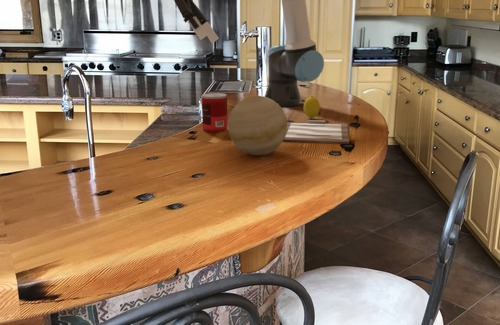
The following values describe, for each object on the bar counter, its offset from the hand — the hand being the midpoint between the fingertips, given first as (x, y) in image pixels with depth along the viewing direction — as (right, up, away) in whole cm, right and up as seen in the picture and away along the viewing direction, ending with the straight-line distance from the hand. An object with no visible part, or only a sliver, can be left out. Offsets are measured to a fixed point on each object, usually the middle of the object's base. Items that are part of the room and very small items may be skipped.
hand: (210, 39), depth 163 cm
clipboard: (+32, -29, -4) cm, 44 cm away
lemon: (+34, -23, +19) cm, 45 cm away
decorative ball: (+14, -36, -29) cm, 49 cm away
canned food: (+1, -28, +1) cm, 28 cm away
